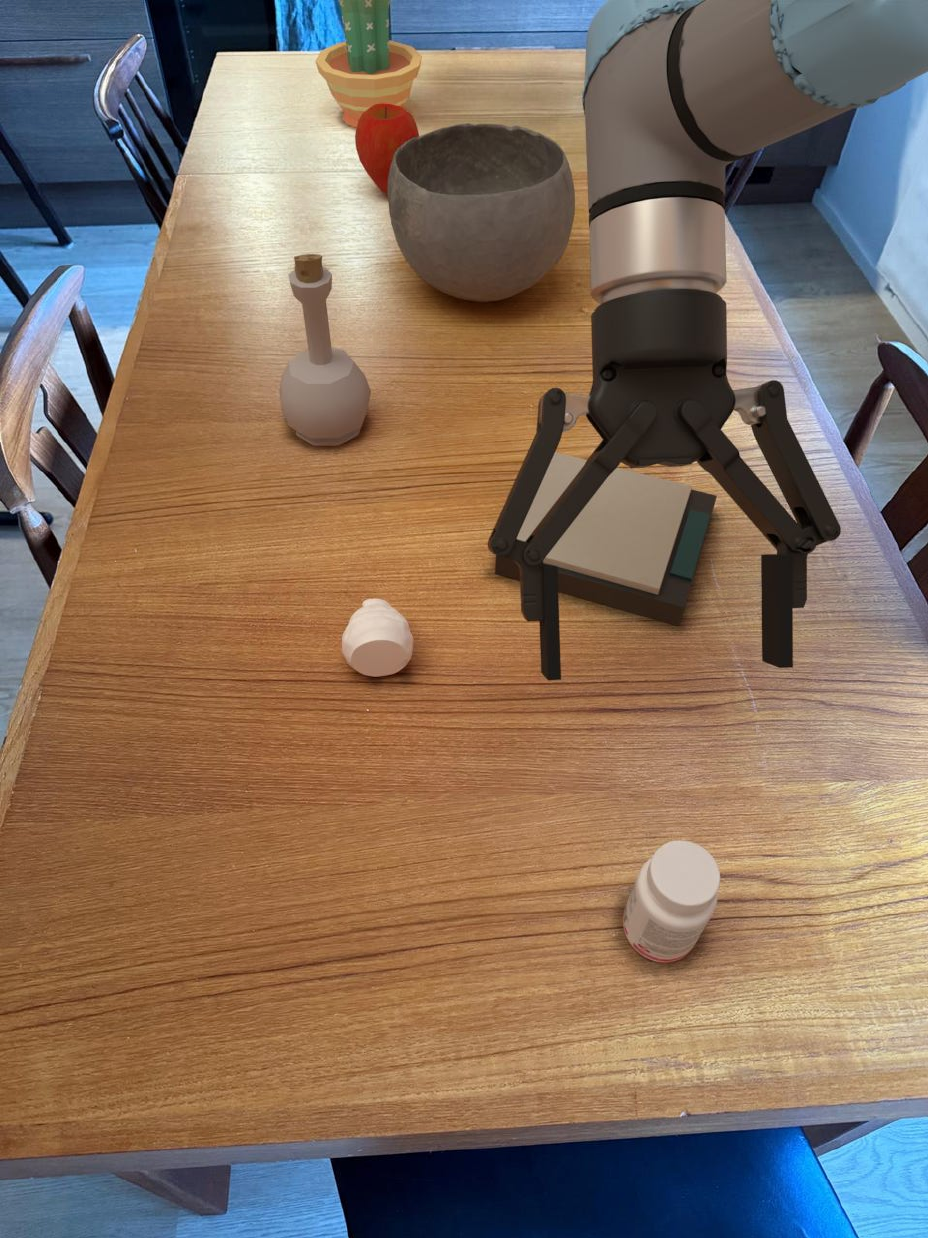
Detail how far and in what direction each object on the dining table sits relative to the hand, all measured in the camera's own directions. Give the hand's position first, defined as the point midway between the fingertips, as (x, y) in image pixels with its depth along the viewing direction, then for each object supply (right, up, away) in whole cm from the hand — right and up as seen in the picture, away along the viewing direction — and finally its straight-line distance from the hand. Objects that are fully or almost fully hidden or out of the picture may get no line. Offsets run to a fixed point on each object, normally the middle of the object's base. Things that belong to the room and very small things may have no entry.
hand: (664, 671), depth 53 cm
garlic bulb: (-19, +1, +19) cm, 26 cm away
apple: (-22, +60, +67) cm, 93 cm away
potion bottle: (-25, +22, +36) cm, 50 cm away
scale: (+1, +10, +26) cm, 28 cm away
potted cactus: (-26, +79, +82) cm, 117 cm away
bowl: (-10, +43, +53) cm, 69 cm away
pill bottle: (+1, -17, +5) cm, 17 cm away
